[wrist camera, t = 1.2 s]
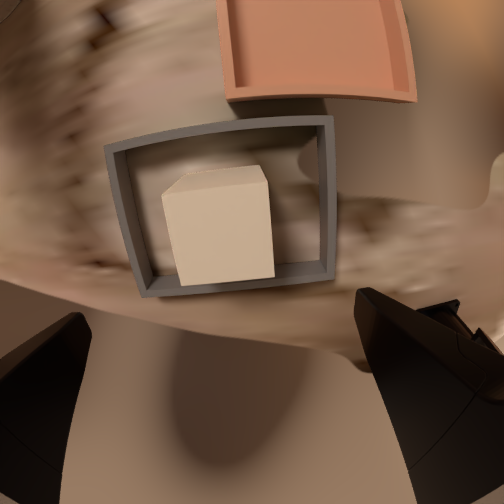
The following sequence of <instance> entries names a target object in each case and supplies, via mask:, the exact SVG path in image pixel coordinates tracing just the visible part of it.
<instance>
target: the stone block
mask: <svg viewBox="0 0 504 504" xmlns="http://www.w3.org/2000/svg"><path fill="white" fill-rule="evenodd" d="M161 196H162V202H163V207H164V212H165V217H166V222H167V227H168V231H169V236H170V241H171V245H172V249H173V254H174V258H175V262H176V267H177V271H178V275H179V279H180V283H181V286H187V285H199V284H210V283H221V282H231V281H241V280H251V279H261V278H270V277H275V273H274V258H273V244H272V230H271V217H270V205H269V192H268V182H267V180H266V178H265V176H264V174H263V172H262V170H261V168H260V166H259V165H254V166H244V167H235V168H226V169H218V170H210V171H203V172H196V173H189V174H184V175H183V176H182V177H181V178H180V179H179V180H177V181H176V182H175V183H174V184H173V185H172V186H171V187H170V188H169V189H167V190H166V191H165V192H164V193H163V194H162V195H161Z"/></svg>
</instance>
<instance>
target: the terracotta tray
mask: <svg viewBox="0 0 504 504" xmlns="http://www.w3.org/2000/svg"><path fill="white" fill-rule="evenodd" d="M216 7H217V17H218V27H219V37H220V47H221V57H222V67H223V76H224V86H225V95H226V100H227V102H228V103H231V102H241V101H251V100H264V99H283V98H344V99H361V100H374V101H385V102H394V103H412V102H417V91H416V82H415V72H414V65H413V58H412V51H411V46H410V40H409V35H408V30H407V25H406V21H405V16H404V12H403V8H402V5H401V1H400V0H216Z"/></svg>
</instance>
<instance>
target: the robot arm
mask: <svg viewBox="0 0 504 504" xmlns="http://www.w3.org/2000/svg"><path fill="white" fill-rule="evenodd" d="M459 305H460V302H459V301H458V300H457V299H456V300H452V301H448V302H445V303H441V304H437V305H433V306H429V307H425V308H421V309H418V310H416V311H415V310H413V309H411V308H409V307H408V306H406V305H404V304H402V303H400V302H398V301H396V300H394V299H392V298H390V297H388V296H386V295H384V294H382V293H380V292H378V291H376V290H374V289H372V288H370V287H366V288H360V289H358V290H357V292H356V297H355V305H354V318H355V322H356V325H357V328H358V331H359V335H360V338H361V342H362V345H363V349H364V352H365V355H366V358H367V361H368V364H369V366H370V368H371V371H372V373H373V376H374V378H375V380H376V383H377V386H378V388H379V391H380V393H381V395H382V399H383V401H384V404H385V406H386V409H387V412H388V414H389V417H390V420H391V423H392V425H393V428H394V431H395V434H396V436H397V440H398V442H399V445H400V448H401V451H402V454H403V457H404V460H405V463H406V467H407V470H409V471H408V474H409V477H410V480H411V483H412V487H413V490H414V494H415V497H416V501H417V504H504V355H503V353H502V352H501V351H500V350H499V348H498V347H497V346H496V345H495V344H494V342H493V341H492V340H491V339H490V338H489V337H488V336H487V335H486V334H485V333H484V332H483V331H482V330H481V329H480V328H478V329H477V330H476V333H475V334H473V333H472V332H471V330H470V329H469V328H468V327H467V326H466V324H465V323H464V322H463V321H462V320H461V319H460V317H459V316H458V315H457V311H458V308H459ZM91 339H92V332H91V329H90V327H89V325H88V323H87V321H86V319H85V317H84V315H83V314H82V313H80V312H71V313H69V314H68V315H66V316H65V317H63V318H61V319H60V320H58V321H57V322H55V323H54V324H52V325H50V326H49V327H47V328H46V329H44V330H43V331H41V332H39V333H38V334H36V335H35V336H33V337H32V338H30V339H29V340H27V341H26V342H24V343H23V344H21V345H20V346H18V347H17V348H16V349H14V350H12V351H11V352H9V353H8V354H6V355H5V356H3V357H2V358H1V359H0V504H59V500H60V490H61V480H62V472H63V465H64V458H65V452H66V447H67V441H68V436H69V432H70V427H71V422H72V418H73V413H74V409H75V405H76V401H77V397H78V394H79V390H80V386H81V383H82V379H83V375H84V371H85V367H86V362H87V357H88V352H89V348H90V343H91Z"/></svg>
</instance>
